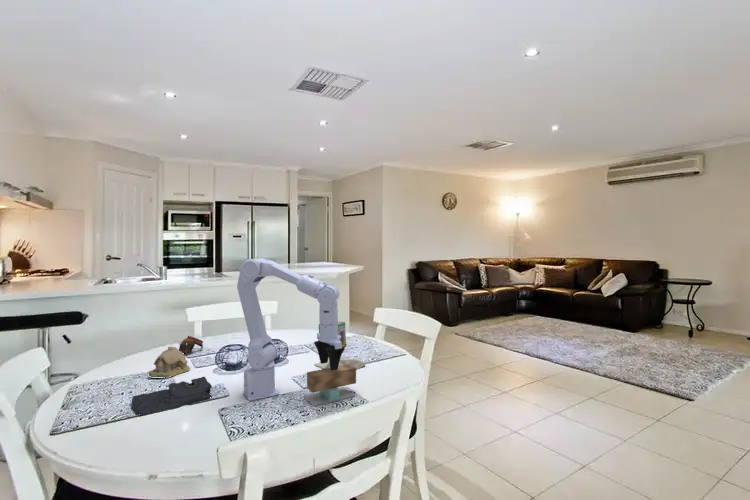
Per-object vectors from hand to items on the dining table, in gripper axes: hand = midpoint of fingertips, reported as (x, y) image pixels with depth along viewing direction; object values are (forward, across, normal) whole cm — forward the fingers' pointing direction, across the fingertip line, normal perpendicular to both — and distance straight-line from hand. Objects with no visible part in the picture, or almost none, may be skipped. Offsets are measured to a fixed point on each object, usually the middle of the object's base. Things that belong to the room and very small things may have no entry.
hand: (329, 366), depth 122 cm
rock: (+10, +24, -14) cm, 30 cm away
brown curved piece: (+10, +78, +32) cm, 85 cm away
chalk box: (+10, +51, -25) cm, 58 cm away
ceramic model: (+10, +53, +42) cm, 68 cm away
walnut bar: (+6, 0, -1) cm, 6 cm away
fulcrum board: (+10, 0, 0) cm, 10 cm away
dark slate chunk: (+11, +25, +42) cm, 50 cm away
